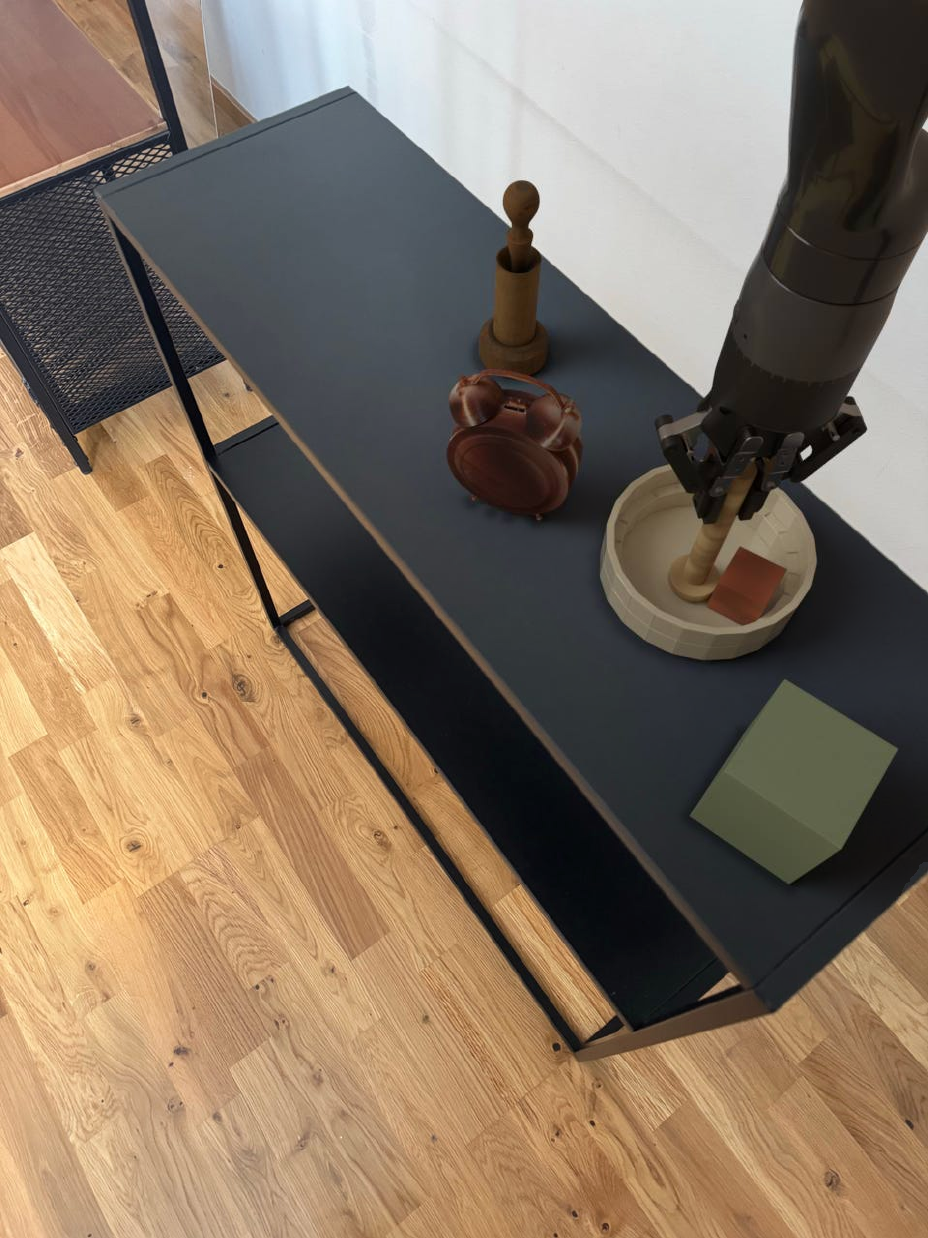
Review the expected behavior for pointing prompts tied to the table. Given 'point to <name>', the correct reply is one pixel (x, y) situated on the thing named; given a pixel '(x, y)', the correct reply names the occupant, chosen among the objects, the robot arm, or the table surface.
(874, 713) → the table surface
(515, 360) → the mortar and pestle
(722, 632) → the bowl
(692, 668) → the table surface
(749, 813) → the stand
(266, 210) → the table surface
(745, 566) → the block
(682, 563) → the stick
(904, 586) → the table surface
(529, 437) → the alarm clock
